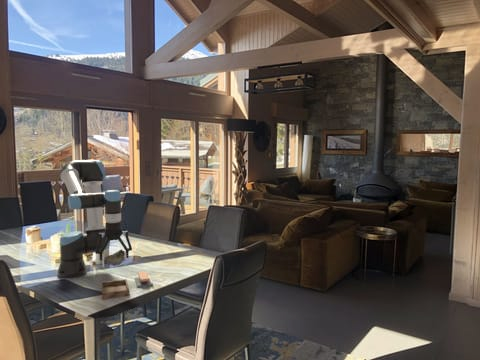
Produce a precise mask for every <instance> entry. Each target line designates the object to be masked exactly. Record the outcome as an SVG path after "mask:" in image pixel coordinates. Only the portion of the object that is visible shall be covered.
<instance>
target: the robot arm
mask: <svg viewBox="0 0 480 360" xmlns="http://www.w3.org/2000/svg"><path fill="white" fill-rule="evenodd" d="M105 167H106V166H105V165H104V162H103V161H101V159H86V160H85V159H81V160H79V159H78V160H70V161H68V162H67V163H65V164H64V165H63V166H62V167H61V169H60V171H59V178H60V180H61V181H62V182H63V183H64V184H65V186H66V189H67V192H68V194H69V195H68V197H67V205H68V208H69V210H73V211H74V210H77V211H78V210H84V209H85V210H86V216H87V218H86V219H87V220H86V221H87V227H86V229H85V232H84V233H83V231H80V230H77V231H75V230H74V231H70V232H66V233H64V234H62V235H61V236H60V238H59V248H60V253H59V254H60V263H59V266H58V269H57V277H59V278H63V279H72V278H78V277H82V276H83V275H85V274H86V273H87V272H88V270H87V266H86V263H85V260H84V255H86V254H92V253H95V254H98V255H99V261H101V262H102V265H101V266H102V268H105V263H104V258H105V253H104V251H108V249H109V248H110V245H111V241H118V242H119V243H120V244H121V246H122V247H123V249H124V250H123V251H124V261H123V262H124V265H125V266H127V259H129V253H130V251H132V250H133V248H132V245H131V241H130V237H129V232H128V230H125V231H123V230H122V228H123V227H122V195H121V191H120V190H119V189H108V190H107V189H106V190H105V191H102V190H101V189H102V188H101V185H102V184H103V182H104V180H105V179H106V168H105ZM103 208H104V213H103ZM104 218H105V219H104ZM104 221H105V222H104ZM104 223H105V224H104ZM122 235H123V236H124V237H125V240H126V242H127V245H126V244H125V242H124V241H123V239H122V238H121V236H122ZM127 246H128V247H127Z"/></svg>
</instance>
